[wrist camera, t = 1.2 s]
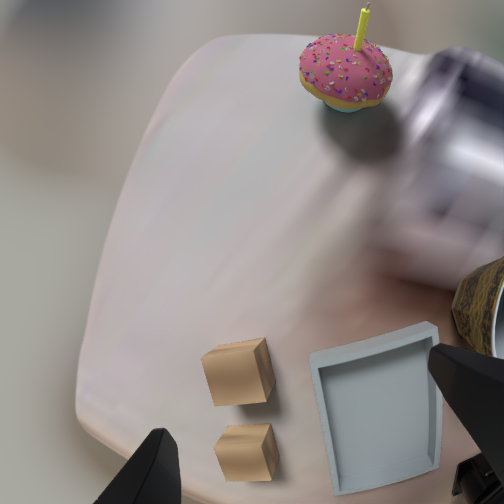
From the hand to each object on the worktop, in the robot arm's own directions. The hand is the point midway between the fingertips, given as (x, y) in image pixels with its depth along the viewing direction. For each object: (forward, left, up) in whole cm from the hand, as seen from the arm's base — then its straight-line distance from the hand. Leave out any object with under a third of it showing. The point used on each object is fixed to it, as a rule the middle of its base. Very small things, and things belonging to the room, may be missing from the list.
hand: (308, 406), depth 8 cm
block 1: (-3, +7, -17) cm, 19 cm away
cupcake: (+20, -9, -17) cm, 28 cm away
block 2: (-12, +9, -17) cm, 23 cm away
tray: (-11, -4, -17) cm, 21 cm away
